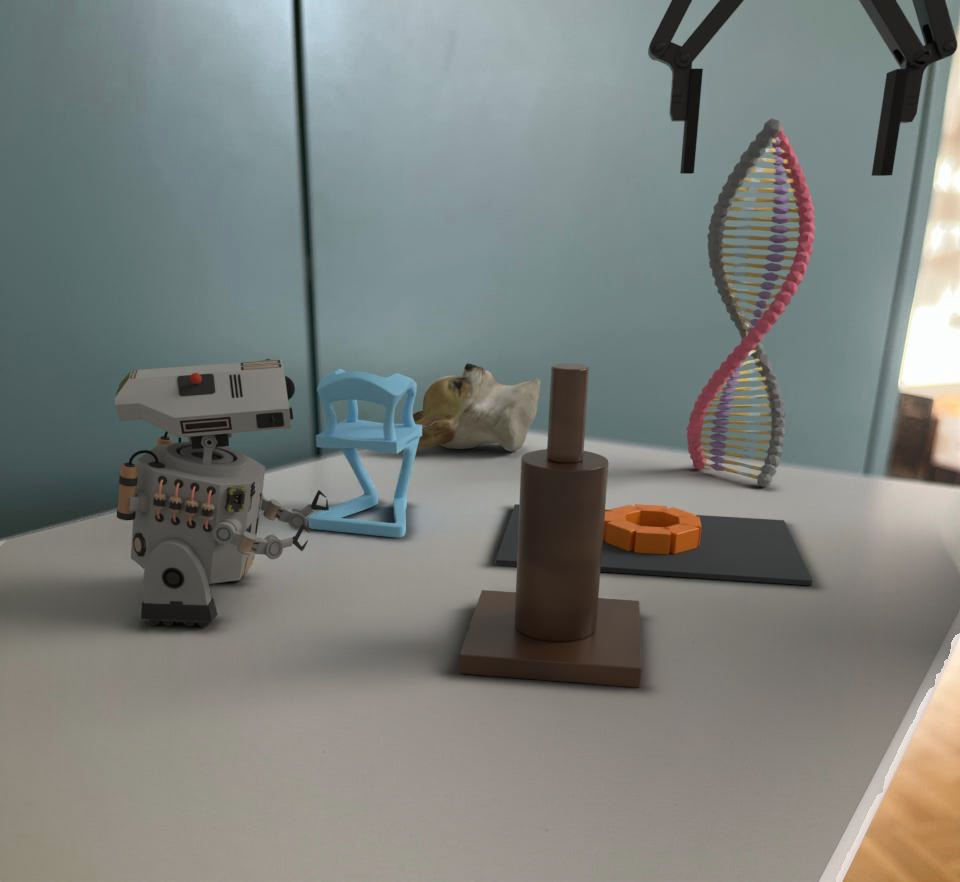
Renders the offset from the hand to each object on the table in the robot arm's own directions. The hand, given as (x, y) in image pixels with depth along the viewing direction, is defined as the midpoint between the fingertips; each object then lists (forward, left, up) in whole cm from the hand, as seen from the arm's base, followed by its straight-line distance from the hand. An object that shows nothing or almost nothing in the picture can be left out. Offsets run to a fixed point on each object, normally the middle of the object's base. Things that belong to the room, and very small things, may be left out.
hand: (783, 175), depth 74 cm
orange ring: (+7, +7, -26) cm, 27 cm away
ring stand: (+13, +27, -26) cm, 40 cm away
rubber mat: (+7, +7, -26) cm, 28 cm away
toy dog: (+25, -20, -26) cm, 42 cm away
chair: (+29, +5, -26) cm, 40 cm away
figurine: (+34, +24, -26) cm, 49 cm away
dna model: (-1, -14, -26) cm, 30 cm away
